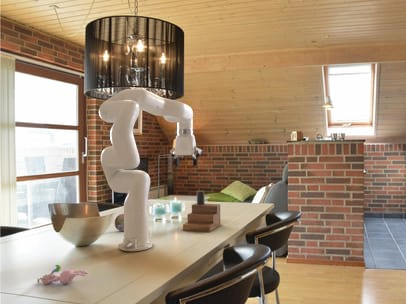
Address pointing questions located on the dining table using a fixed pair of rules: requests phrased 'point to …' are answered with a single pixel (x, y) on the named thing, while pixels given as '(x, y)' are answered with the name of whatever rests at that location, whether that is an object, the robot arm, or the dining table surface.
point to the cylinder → (200, 198)
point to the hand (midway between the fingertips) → (186, 166)
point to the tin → (119, 222)
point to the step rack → (203, 218)
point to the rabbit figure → (61, 276)
